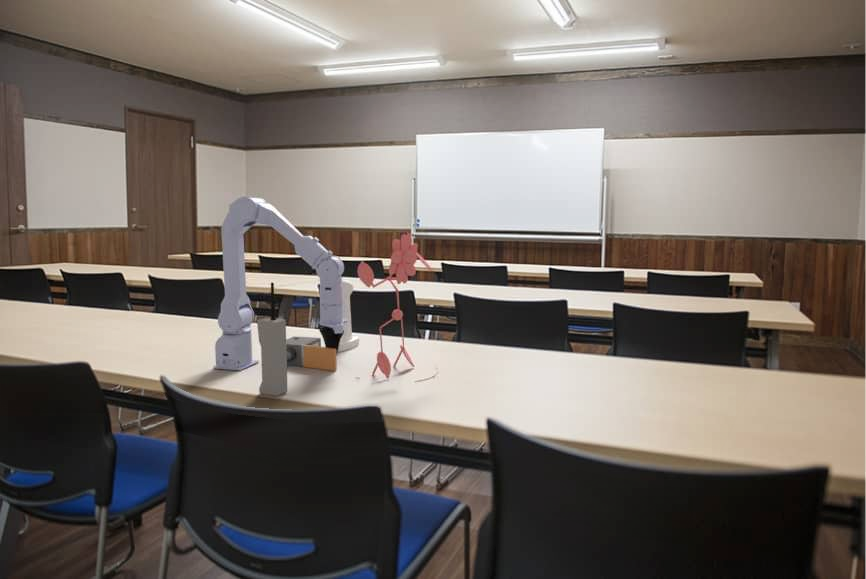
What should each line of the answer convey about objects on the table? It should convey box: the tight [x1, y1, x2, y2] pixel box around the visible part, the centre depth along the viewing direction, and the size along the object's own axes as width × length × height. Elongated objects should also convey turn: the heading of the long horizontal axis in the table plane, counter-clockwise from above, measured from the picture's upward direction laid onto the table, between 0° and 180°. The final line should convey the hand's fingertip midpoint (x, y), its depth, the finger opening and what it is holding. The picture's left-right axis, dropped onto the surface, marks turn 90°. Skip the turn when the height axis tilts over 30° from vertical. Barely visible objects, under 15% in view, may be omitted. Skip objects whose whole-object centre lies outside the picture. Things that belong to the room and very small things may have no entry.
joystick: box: [337, 279, 360, 353], centre depth 189 cm, size 11×8×20 cm
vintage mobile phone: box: [256, 282, 289, 397], centre depth 142 cm, size 4×5×25 cm
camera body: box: [286, 335, 322, 367], centre depth 173 cm, size 12×8×6 cm
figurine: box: [355, 233, 439, 383], centre depth 158 cm, size 15×26×35 cm, turn 148°
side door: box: [301, 345, 337, 372], centre depth 165 cm, size 10×1×6 cm, turn 64°
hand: (332, 356), depth 166 cm, fingers closed
